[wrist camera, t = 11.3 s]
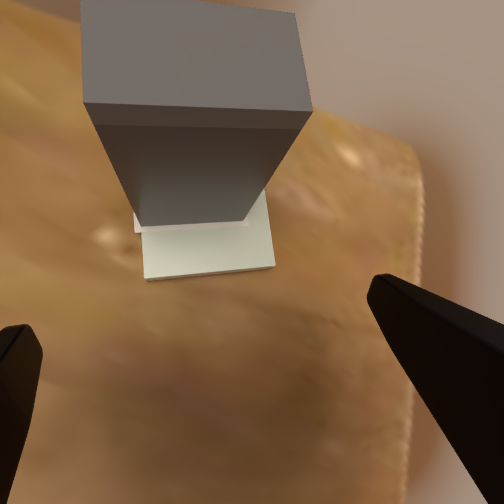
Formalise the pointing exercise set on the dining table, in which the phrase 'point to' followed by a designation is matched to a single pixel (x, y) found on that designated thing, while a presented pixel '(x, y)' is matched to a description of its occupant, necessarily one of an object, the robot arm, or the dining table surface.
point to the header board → (208, 246)
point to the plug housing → (192, 102)
